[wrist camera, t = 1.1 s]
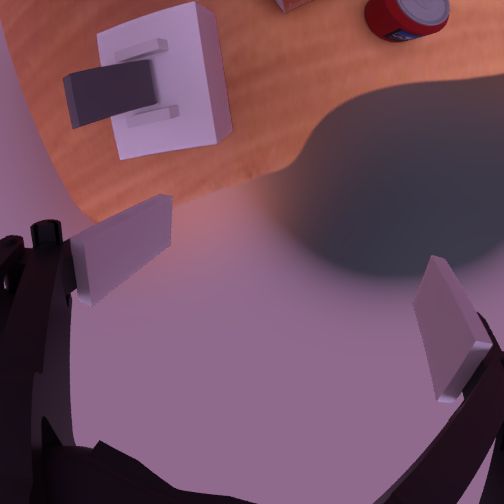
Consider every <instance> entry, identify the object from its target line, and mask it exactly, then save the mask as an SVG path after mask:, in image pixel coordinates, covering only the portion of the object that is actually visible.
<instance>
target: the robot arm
mask: <svg viewBox="0 0 504 504" xmlns="http://www.w3.org/2000/svg"><path fill="white" fill-rule="evenodd" d="M172 199H173V196H169V195H163V194H159V195H157V196H154V197H152V198H150V199H148V200H146V201H143V202H141V203H139V204H137V205H135V206H133V207H130V208H128V209H126V210H124V211H122V212H120V213H118V214H116V215H114V216H112V217H110V218H108V219H106V220H104V221H102V222H100V223H98V224H96V225H94V226H92V227H90V228H88V229H86V230H84V231H82V232H80V233H78V234H76V235H74V236H72V237H71V238H70V239H68V240H66V241H64V242H63V240H62V239H63V238H62V229H61V222H60V221H58V220H54V219H52V220H51V219H50V220H42V221H39V222H36V223H34V224H33V225H32V226H31V227H30V228H31V236H32V242H33V248H25V247H24V241H23V237H21V236H17V235H15V236H13V235H10V236H6V237H5V238H3V239H1V240H0V504H256V503H252V502H248V501H244V500H241V499H237V498H234V497H231V496H222V495H212V494H203V493H195V492H189V491H182V490H178V489H176V488H174V487H172V486H171V485H169V484H168V483H167V482H165V481H164V480H163V479H161V478H160V477H158V476H157V475H156V474H154V473H153V472H152V471H150V470H149V469H148V468H147V467H145V466H144V465H143V464H142V463H140V462H139V461H138V460H136V459H134V458H132V457H130V456H128V455H126V454H124V453H122V452H120V451H118V450H117V449H115V448H113V447H111V446H109V445H107V444H105V443H103V442H102V441H100V440H99V442H98V443H97V444H96V446H95V447H94V448H93V449H92V448H87V447H82V446H76V444H75V441H74V438H73V432H72V419H71V402H70V362H69V361H70V357H69V356H70V325H71V308H72V297H71V292H72V291H73V290H75V289H76V288H77V293H78V298H79V301H80V302H82V303H84V304H87V305H89V306H91V307H93V306H94V305H95V304H97V303H98V302H99V301H100V300H102V299H103V298H104V297H105V296H107V295H108V294H109V293H110V292H111V291H113V290H114V289H115V288H116V287H118V286H119V285H120V284H121V283H123V282H124V281H125V280H126V279H128V278H129V277H130V276H131V275H133V274H134V273H135V272H137V271H138V270H139V269H140V268H142V267H143V266H144V265H145V264H147V263H148V262H149V261H151V260H152V259H153V258H154V257H156V256H157V255H158V254H160V253H161V252H162V251H164V250H165V249H166V248H168V247H169V246H170V245H171V220H172ZM4 282H5V285H6V289H5V288H4ZM413 307H414V310H415V314H416V317H417V321H418V324H419V328H420V332H421V335H422V339H423V343H424V347H425V351H426V355H427V359H428V364H429V368H430V373H431V377H432V381H433V387H434V392H435V397H436V401H437V402H445V403H454V402H455V400H456V399H457V398H458V396H459V395H460V394H461V392H463V396H464V401H463V402H462V403H461V405H460V406H459V407H458V409H457V410H456V411H455V412H454V414H453V415H452V416H451V417H450V419H449V421H448V422H447V424H446V425H445V427H444V428H443V429H442V430H441V431H440V433H439V434H438V435H437V437H436V438H435V439H434V440H433V441H432V443H431V444H430V445H429V446H428V447H427V448H426V450H425V451H424V452H423V453H422V454H421V455H420V457H419V458H418V459H417V460H416V461H415V462H414V463H413V464H412V466H410V468H409V469H408V470H407V471H406V472H405V473H404V474H403V475H402V476H401V477H400V478H399V479H398V480H397V481H396V482H395V483H394V484H393V485H392V486H391V487H390V488H389V489H388V490H387V491H386V492H385V493H384V494H383V495H382V496H381V497H380V498H378V500H376V501H375V502H374V503H373V504H457V502H458V501H459V499H460V498H461V496H462V495H463V493H464V492H465V490H466V489H467V487H468V486H469V484H470V482H471V481H472V479H473V478H474V476H475V474H476V473H477V471H478V469H479V468H480V465H481V464H482V462H483V460H484V459H485V457H486V455H487V453H488V451H489V449H490V448H491V446H492V444H493V442H494V440H495V438H496V440H495V445H494V450H493V455H492V459H491V463H490V467H489V471H488V475H487V479H486V482H485V486H484V489H483V492H482V496H481V499H480V502H479V504H504V351H502V350H501V349H500V346H499V345H498V342H497V341H496V339H495V337H494V335H493V333H492V331H491V329H490V328H489V325H488V323H487V322H486V320H485V319H484V318H483V317H482V316H481V315H480V314H479V313H478V312H476V310H475V309H474V307H473V305H472V303H471V302H470V300H469V298H468V296H467V295H466V293H465V291H464V289H463V288H462V286H461V284H460V283H459V281H458V279H457V278H456V276H455V275H454V273H453V271H452V270H451V268H450V266H449V265H448V263H447V262H446V260H445V259H444V258H440V257H436V256H432V255H431V258H430V261H429V263H428V266H427V269H426V271H425V274H424V277H423V279H422V282H421V284H420V287H419V289H418V292H417V295H416V297H415V299H414V302H413Z"/></svg>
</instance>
